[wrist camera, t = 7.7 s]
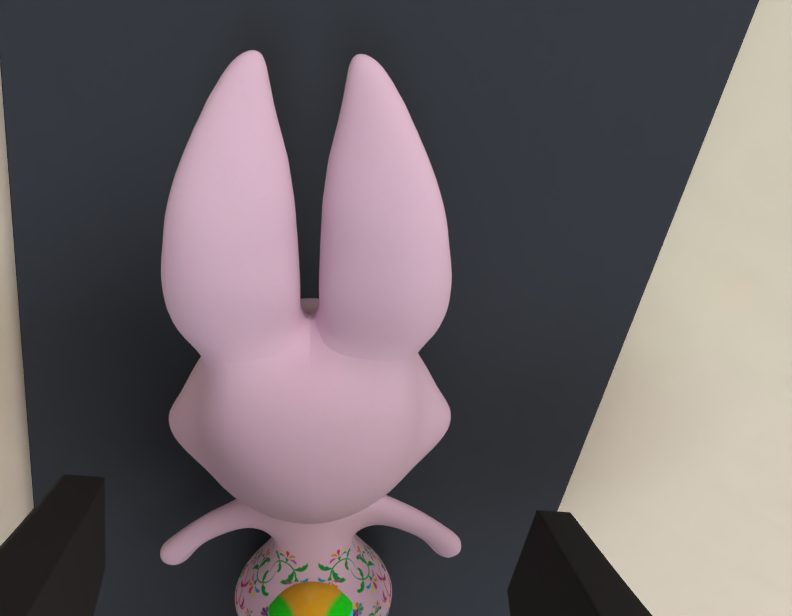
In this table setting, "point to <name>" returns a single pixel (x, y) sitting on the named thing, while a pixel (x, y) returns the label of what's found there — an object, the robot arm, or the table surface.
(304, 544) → the rabbit figure
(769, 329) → the table surface
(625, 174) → the desk mat
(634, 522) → the table surface
